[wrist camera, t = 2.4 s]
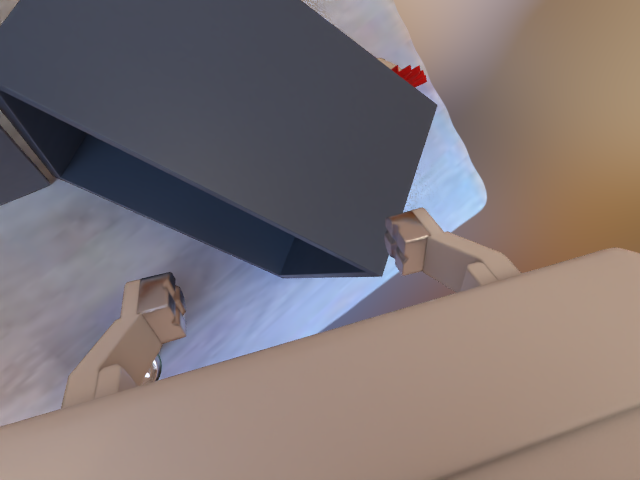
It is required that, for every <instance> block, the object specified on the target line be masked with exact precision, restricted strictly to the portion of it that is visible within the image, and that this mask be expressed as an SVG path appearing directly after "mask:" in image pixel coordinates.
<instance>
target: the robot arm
mask: <svg viewBox="0 0 640 480" xmlns="http://www.w3.org/2000/svg"><path fill="white" fill-rule="evenodd" d="M385 227H386V228H387V231H386V232H385V234H384V241H385V246H386V249H387V251H388V253H389V255H390V256H391V257H393V258H395V265H396V267H397V268H398V270H399V271H400V273H401V275H402V276H405V275H408V274H412V273H416V272H420V271H423V272H424V273H425V274H427V275H429V276H430V277H432V278H434V279H435V280H437V281H438V282H440V283H442V284H443V285H445V286H446V287H448V288H450V289H451V290H453V291H455V292H456V293H455V294H451V295H448V296H444V297H441V298H438V299H434V300H431V301H427V302H424V303H421V304H417V305H414V306H410V307H407V308H403V309H400V310H396V311H394V312H390V313H387V314H383V315H379V316H376V317H373V318H369V319H366V320H362V321H359V322H355V323H352V324H349V325H345V326H342V327H339V328H335V329H332V330H328V331H325V332H322V333H318V334H315V335H311V336H308V337H304V338H301V339H298V340H294V341H291V342H287V343H284V344H281V345H277V346H274V347H270V348H267V349H264V350H260V351H257V352H253V353H250V354H247V355H243V356H240V357H236V358H233V359H230V360H226V361H223V362H219V363H216V364H212V365H209V366H206V367H202V368H199V369H195V370H192V371H189V372H185V373H182V374H178V375H175V376H172V377H168V378H165V379H161V380H158V381H155V382H151V383H148V384H144V385H141V383H142V381H143V379H144V378H145V376H146V374H147V372H148V370H149V369H150V367H151V365H152V363H153V361H154V360H155V358H156V356H157V354H158V353H159V351H160V349H161V347H162V344H164V343H167V342H170V341H173V340H177V339H180V338H183V337H186V321H185V319H184V317H183V315H184V313H185V312H186V306H185V300H184V296H183V293H182V291H181V289H180V287H178V286H176V285H175V278H174V276H173V274H172V273H171V272H168V273H164V274H160V275H155V276H151V277H147V278H142V279H140V280H135V281H131V282H127V283H126V285H125V287H124V294H123V301H122V308H121V315H120V319H118V320H115V322H114V323H113V324H112V325H111V326H110V327H109V329H108V330H107V331H106V332H105V333H104V335H103V336H102V337H101V338H100V339H99V341H98V342H97V343H96V344H95V345H94V347H93V348H92V349H91V350H90V351H89V353H88V354H87V355H86V356H85V357H84V358H83V360H82V361H81V362H80V363H79V364H78V366H77V367H76V368H75V369H74V370H73V372H72V373H71V374H70V375H69V376H68V381H67V385H66V389H65V394H64V398H63V402H62V406H61V409H59V410H56V411H52V412H49V413H46V414H42V415H39V416H35V417H32V418H29V419H25V420H22V421H18V422H15V423H12V424H8V425H5V426H1V427H0V480H640V253H636V252H633V251H630V250H626V249H622V248H608V249H604V250H600V251H597V252H594V253H590V254H587V255H584V256H581V257H577V258H574V259H571V260H567V261H563V262H560V263H557V264H553V265H550V266H546V267H543V268H539V269H537V270H533V271H530V272H526V273H521V272H520V271H519V270H518V269H517V268H516V267H515V266H514V264H513V263H512V262H511V261H510V260H509V259H508V258H507V257H506V256H505V255H504V254H503V253H500V252H498V251H495V250H493V249H490V248H488V247H485V246H482V245H480V244H478V243H475V242H473V241H470V240H468V239H465V238H462V237H460V236H457V235H455V234H452V233H450V232H444V231H443V230H442V229H441V228H440V227H439V225H438V224H437V223H436V222H435V221H434V219H433V218H432V217H431V216H430V215H429V213H428V212H427V211H426V210H425V209H424V208H418V209H415V210H411V211H408V212H404V213H400V214H396V215H392V216H389V217H386V219H385ZM140 385H141V386H140Z"/></svg>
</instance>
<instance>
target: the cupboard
mask: <svg viewBox="0 0 640 480" xmlns="http://www.w3.org/2000/svg"><path fill="white" fill-rule="evenodd" d="M436 108H437V104H435V103H434V102H433V101H432V100H430V99H429V98H428V97H426V96H425V95H424V94H422V93H421V92H420V91H418V90H417V89H416V88H415V87H413V86H412V85H411V84H409V83H408V82H407V81H405V80H404V79H403V78H401V77H400V76H399V75H398V74H396V73H395V72H394V71H392V70H391V69H390V68H388V67H387V66H386V65H385V64H383V63H382V62H381V61H379V60H378V59H377V58H375V57H374V56H373V55H371V54H370V53H369V52H368V51H366V50H365V49H364V48H362V47H361V46H360V45H358V44H357V43H356V42H354V41H353V40H352V39H351V38H349V37H348V36H347V35H345V34H344V33H343V32H341V31H340V30H339V29H337V28H336V27H335V26H334V25H332V24H331V23H330V22H328V21H327V20H326V19H324V18H323V17H322V16H321V15H319V14H318V13H317V12H315V11H314V10H313V9H311V8H310V7H309V6H307V5H306V4H305V3H304V2H302V1H301V0H20V1H19V2H18V3H17V5H16V6H15V7H14V9H13V10H12V11H11V13H10V14H9V15H8V17H7V18H6V19H5V21H4V22H3V23H2V25H1V26H0V110H1V111H2V112H3V113H4V115H5V116H6V117H7V119H8V120H9V121H10V122H11V124H12V125H13V126H14V127H15V129H16V130H17V131H18V132H19V134H20V135H21V136H22V137H23V139H24V140H25V141H26V143H27V144H28V145H29V146H30V148H31V149H32V150H33V151H34V153H35V154H36V155H37V156H38V158H39V159H40V160H41V161H42V163H43V164H44V165H45V167H46V168H47V169H48V170H49V172H50V173H51V174H52V175H53V176H55V177H57V178H59V179H61V180H64V181H66V182H68V183H70V184H73V185H75V186H77V187H79V188H82V189H84V190H86V191H88V192H90V193H93V194H95V195H97V196H99V197H102V198H104V199H106V200H108V201H111V202H113V203H115V204H117V205H120V206H122V207H124V208H126V209H129V210H131V211H133V212H135V213H138V214H140V215H142V216H144V217H147V218H149V219H151V220H153V221H156V222H158V223H160V224H162V225H165V226H167V227H169V228H171V229H174V230H176V231H178V232H180V233H183V234H185V235H187V236H189V237H192V238H194V239H196V240H198V241H201V242H203V243H205V244H207V245H210V246H212V247H214V248H216V249H218V250H221V251H223V252H225V253H227V254H230V255H232V256H234V257H236V258H239V259H241V260H243V261H245V262H248V263H250V264H252V265H254V266H257V267H259V268H261V269H263V270H266V271H268V272H270V273H272V274H275V275H277V276H279V277H281V278H323V277H378V276H382V275H383V271H384V268H385V265H386V262H387V259H388V256H389V253H388V251H387V249H386V246H385V241H384V234H385V232H386V231H387V228H386V227H385V219H386V217H389V216H392V215H396V214H400V213H403V210H404V207H405V204H406V200H407V197H408V194H409V191H410V188H411V185H412V182H413V179H414V176H415V173H416V170H417V166H418V163H419V160H420V157H421V154H422V151H423V148H424V145H425V142H426V139H427V136H428V132H429V129H430V126H431V123H432V120H433V117H434V114H435V111H436Z"/></svg>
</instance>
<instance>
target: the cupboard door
mask: <svg viewBox="0 0 640 480" xmlns="http://www.w3.org/2000/svg"><path fill="white" fill-rule="evenodd" d="M49 185H51V184H50V183H49V181H48V180H47V178H46V177H45V176H44V175H43V173H42V172H41V171H40V170H39V169H38V168H37V166H36V165H35V164H34V163H33V162H32V161H31V160H30V158H29V157H28V156H27V155H26V154H25V153H24V152H23V150H22V149H21V148H20V147H19V146H18V145H17V143H16V142H15V141H14V140H13V139H12V138H11V137H10V135H9V134H8V133H7V132H6V131H5V130H4V129H3V127H2V126H1V125H0V205H3V204H5V203H8V202H10V201H13V200H15V199H17V198H20V197H22V196H25V195H27V194H30V193H32V192H35V191H37V190H39V189H42V188H44V187H47V186H49Z"/></svg>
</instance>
